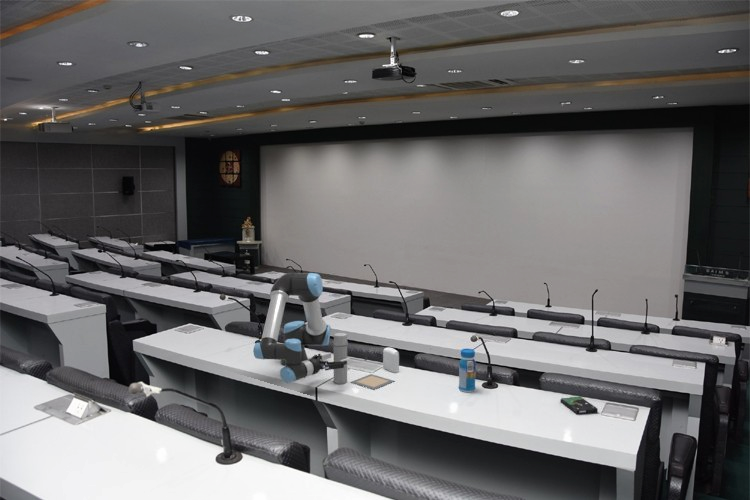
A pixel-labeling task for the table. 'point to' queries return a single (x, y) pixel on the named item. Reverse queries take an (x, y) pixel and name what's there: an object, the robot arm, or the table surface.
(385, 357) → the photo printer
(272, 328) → the robot arm
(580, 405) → the disk drive
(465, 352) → the beverage bottle
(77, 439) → the table surface
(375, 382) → the pad
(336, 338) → the water bottle
